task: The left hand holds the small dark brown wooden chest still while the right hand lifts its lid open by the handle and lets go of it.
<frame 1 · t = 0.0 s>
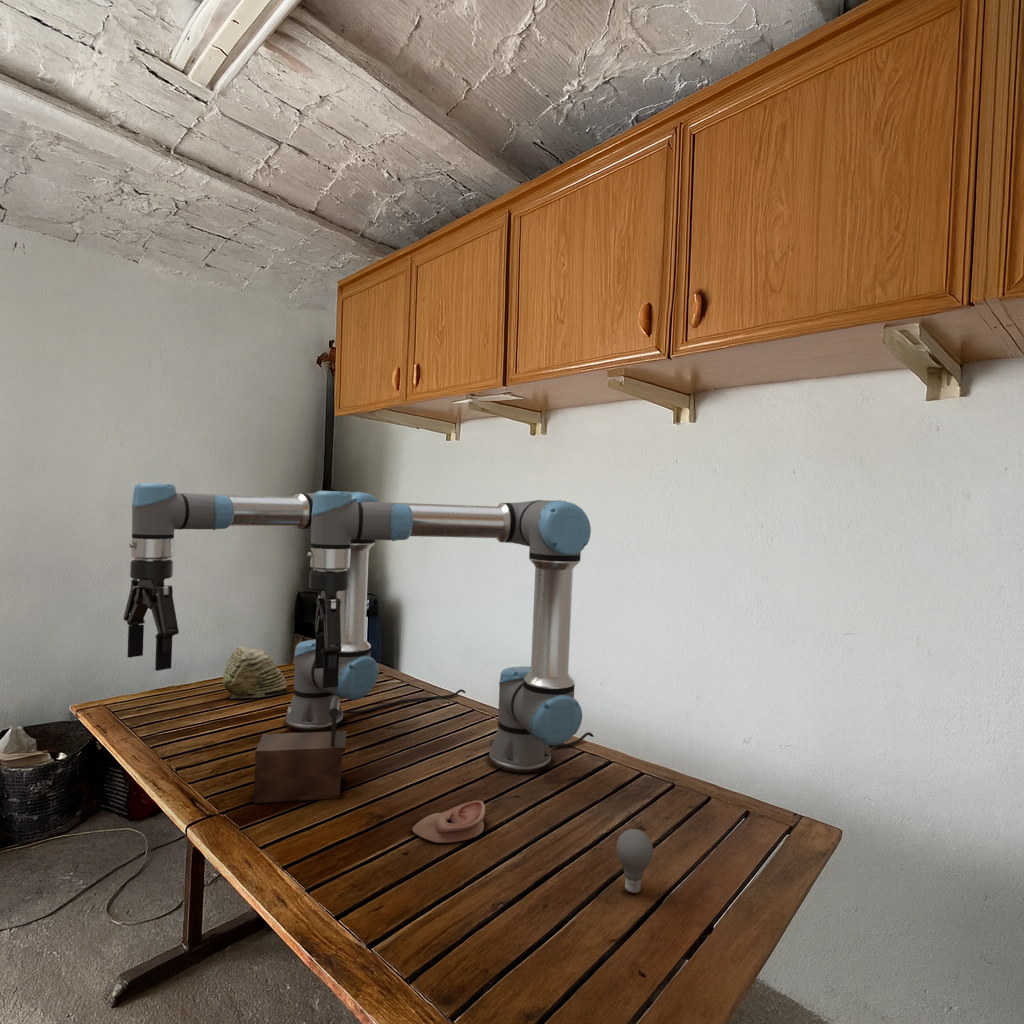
left hand: (148, 662, 129), 28 cm above the table, tool pointing down, fingers open, 13 cm apart
right hand: (325, 677, 125), 28 cm above the table, tool pointing down, fingers open, 13 cm apart
lid: (303, 724, 136), point 14 cm above the table, hinge at 0.0°
fossil: (254, 694, 198), on the table
chest: (299, 790, 136), on the table
light bulb: (632, 891, 106), on the table
anatomical model: (449, 829, 123), on the table
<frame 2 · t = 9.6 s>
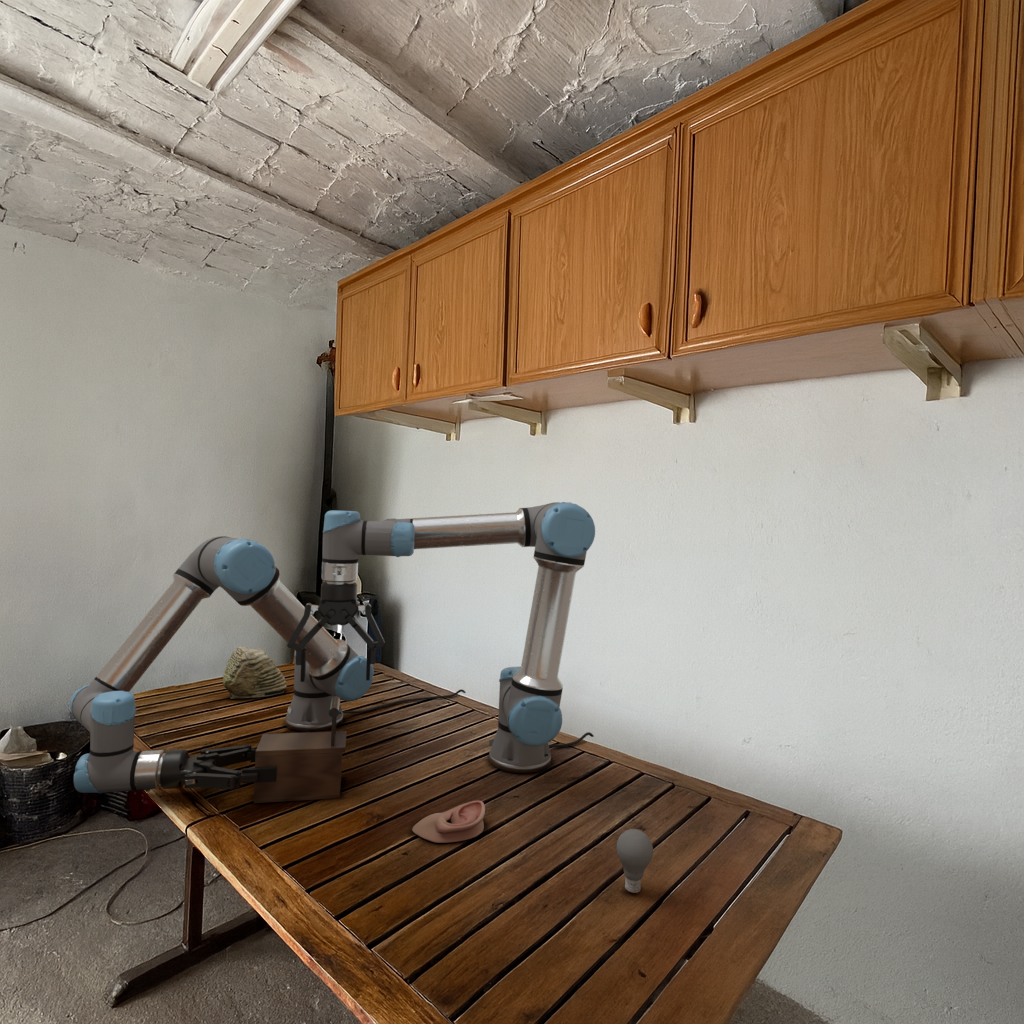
left hand: (279, 763, 135), 6 cm above the table, tool horizontal, fingers closed on chest, 9 cm apart
right hand: (335, 679, 137), 24 cm above the table, tool pointing down, fingers open, 13 cm apart
chest: (299, 790, 136), on the table, touching left hand
everything else where it was.
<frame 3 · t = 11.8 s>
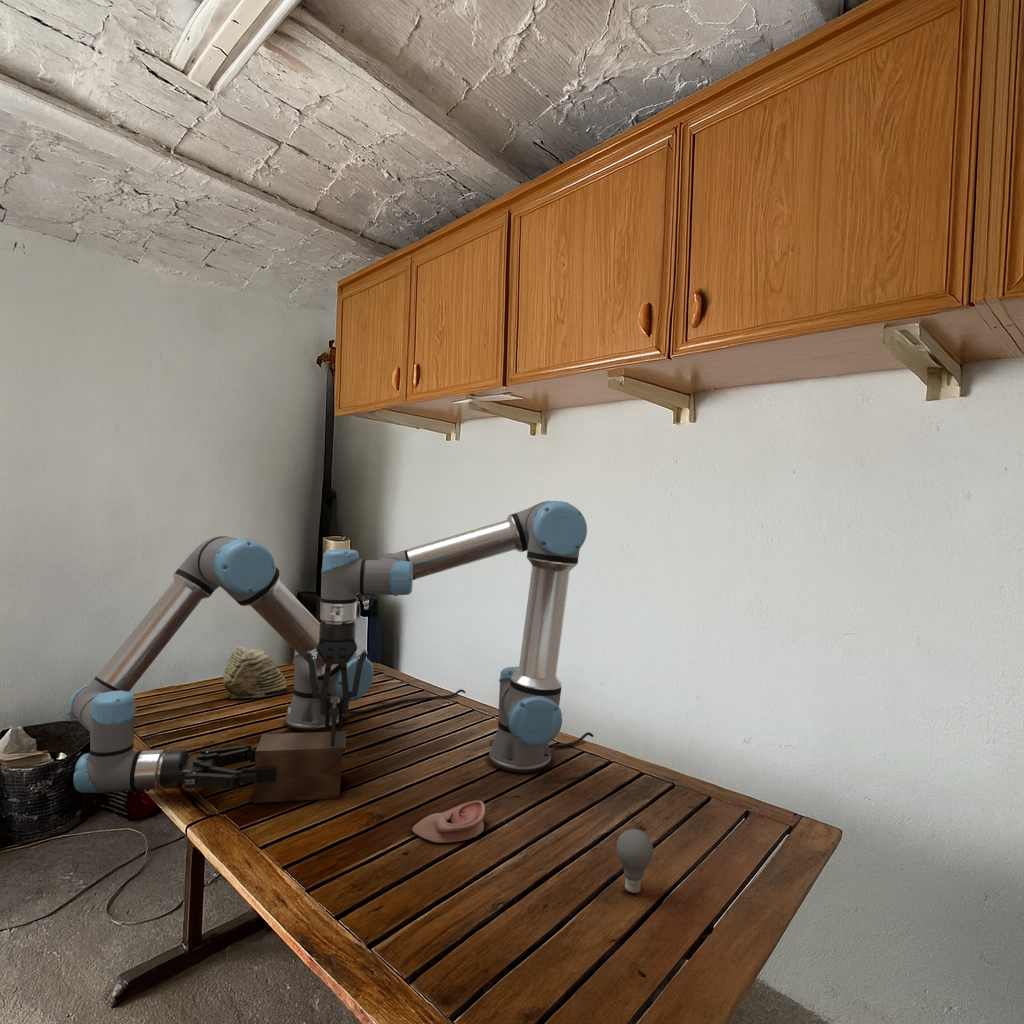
left hand: (279, 763, 135), 6 cm above the table, tool horizontal, fingers closed on chest, 9 cm apart
right hand: (333, 728, 137), 13 cm above the table, tool pointing down, fingers closed on lid, 2 cm apart
lid: (303, 724, 136), point 14 cm above the table, hinge at -0.1°, touching right hand
chest: (299, 790, 136), on the table, touching left hand
everything else where it was.
when the left hand's fingers open (6 cm above the table, at t = 20.1 s): chest stays where it is, on the table.
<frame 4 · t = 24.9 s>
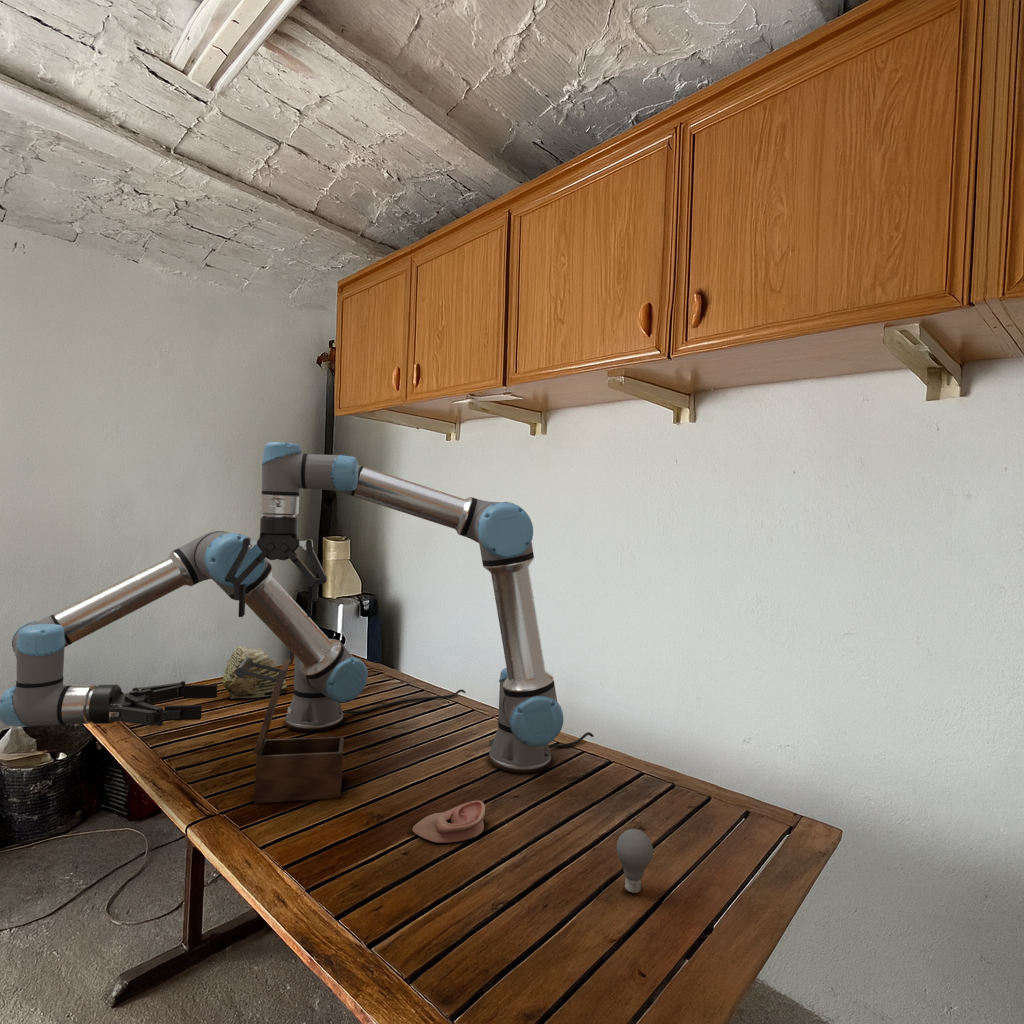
left hand: (209, 701, 132), 20 cm above the table, tool horizontal, fingers open, 13 cm apart
right hand: (275, 616, 134), 38 cm above the table, tool pointing down, fingers open, 13 cm apart
lid: (253, 700, 134), point 20 cm above the table, hinge at 75.0°
chest: (300, 790, 136), on the table
everything else where it was.
at the end: lid at +75° (first picture: +0°); the left hand is holding nothing; the right hand is holding nothing; chest tilted 0°; chest never tilted more than 2° during the clip; chest moved 0.2 cm from its start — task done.
